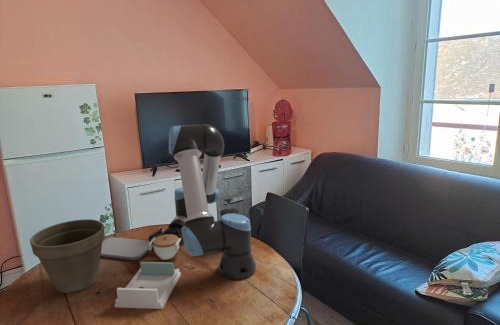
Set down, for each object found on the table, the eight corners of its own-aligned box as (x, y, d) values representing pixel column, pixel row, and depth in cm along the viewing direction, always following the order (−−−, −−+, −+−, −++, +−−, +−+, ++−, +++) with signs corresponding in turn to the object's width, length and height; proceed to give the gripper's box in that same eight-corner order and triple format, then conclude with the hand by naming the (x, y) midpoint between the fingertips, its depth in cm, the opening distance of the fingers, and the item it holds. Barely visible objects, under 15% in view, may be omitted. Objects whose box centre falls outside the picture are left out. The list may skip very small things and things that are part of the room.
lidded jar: (173, 263, 140) (171, 242, 138) (149, 261, 142) (147, 240, 140) (183, 251, 150) (182, 231, 148) (161, 249, 152) (159, 229, 150)
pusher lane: (140, 273, 138) (138, 257, 137) (180, 274, 137) (179, 258, 135) (114, 307, 117) (112, 289, 116) (162, 309, 116) (160, 290, 114)
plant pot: (23, 302, 121) (13, 246, 116) (61, 266, 145) (54, 219, 140) (93, 301, 121) (85, 245, 116) (119, 265, 145) (114, 218, 140)
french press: (243, 241, 165) (241, 196, 160) (239, 250, 156) (238, 203, 151) (219, 240, 167) (217, 195, 162) (214, 249, 158) (212, 202, 153)
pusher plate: (142, 273, 136) (141, 261, 135) (174, 273, 135) (173, 262, 134) (141, 274, 135) (140, 263, 134) (173, 275, 134) (173, 263, 133)
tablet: (110, 241, 170) (109, 236, 169) (156, 245, 164) (156, 241, 163) (87, 256, 155) (86, 252, 154) (138, 262, 148) (137, 257, 148)
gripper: (202, 233, 162) (190, 256, 141) (155, 233, 164) (136, 255, 143) (201, 219, 161) (189, 239, 139) (154, 218, 163) (135, 238, 141)
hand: (162, 247), depth 141 cm, fingers closed on lidded jar, 11 cm apart
